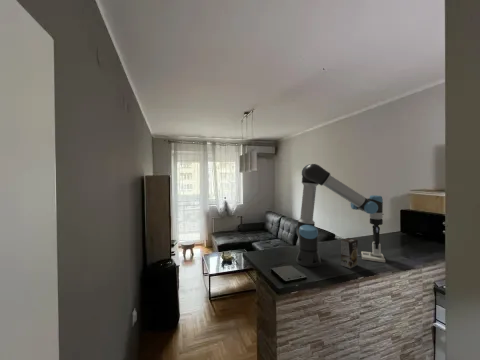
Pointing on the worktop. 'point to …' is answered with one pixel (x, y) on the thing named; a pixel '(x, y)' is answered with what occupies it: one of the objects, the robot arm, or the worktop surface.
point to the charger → (373, 250)
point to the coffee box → (349, 252)
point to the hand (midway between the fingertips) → (376, 252)
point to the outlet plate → (370, 257)
